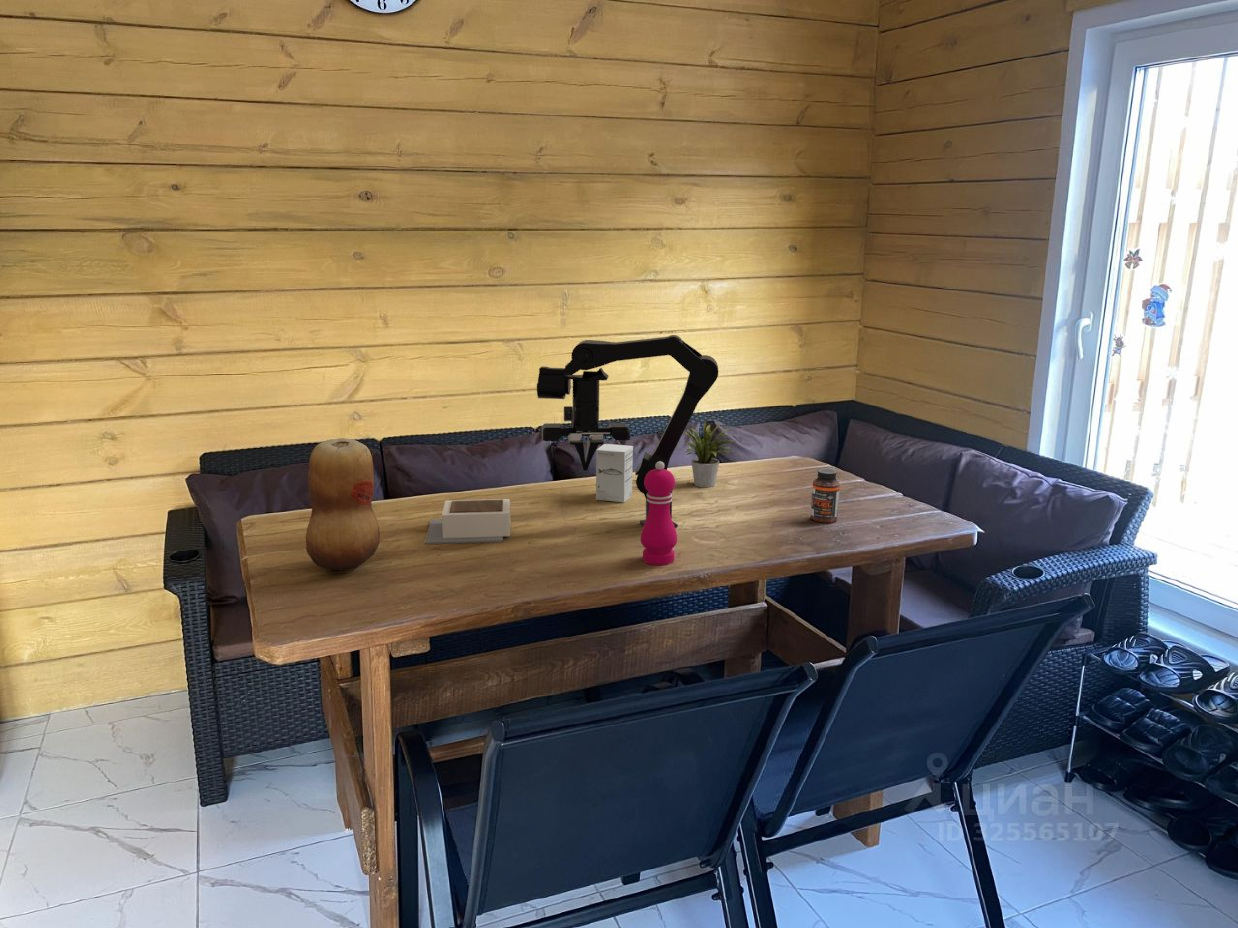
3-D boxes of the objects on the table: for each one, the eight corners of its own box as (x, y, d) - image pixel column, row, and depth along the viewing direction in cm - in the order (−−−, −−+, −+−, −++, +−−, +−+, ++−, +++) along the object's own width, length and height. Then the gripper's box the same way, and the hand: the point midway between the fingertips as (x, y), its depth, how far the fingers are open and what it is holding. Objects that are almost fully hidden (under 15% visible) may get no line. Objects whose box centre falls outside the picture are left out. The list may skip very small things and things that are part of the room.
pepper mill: (632, 559, 189) (633, 461, 184) (657, 551, 194) (659, 455, 189) (659, 568, 184) (660, 468, 179) (684, 560, 189) (686, 461, 184)
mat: (503, 519, 215) (503, 517, 214) (502, 541, 199) (502, 540, 199) (431, 521, 213) (430, 519, 213) (424, 544, 197) (424, 542, 197)
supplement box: (595, 500, 229) (594, 449, 226) (604, 492, 236) (604, 442, 233) (624, 503, 227) (624, 451, 224) (633, 495, 234) (633, 444, 231)
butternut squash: (345, 585, 175) (336, 452, 169) (293, 573, 181) (282, 444, 175) (397, 563, 186) (390, 437, 180) (346, 551, 193) (338, 430, 187)
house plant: (701, 496, 233) (703, 431, 229) (663, 484, 243) (664, 422, 239) (742, 486, 242) (744, 423, 238) (703, 476, 252) (705, 415, 248)
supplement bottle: (809, 522, 213) (812, 473, 210) (811, 514, 219) (813, 466, 216) (837, 524, 212) (840, 474, 209) (837, 516, 217) (840, 468, 214)
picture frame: (509, 497, 211) (445, 499, 209) (509, 511, 200) (441, 513, 199) (510, 520, 212) (446, 522, 211) (510, 536, 202) (442, 538, 200)
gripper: (624, 393, 214) (622, 461, 218) (540, 393, 212) (540, 462, 216) (630, 402, 203) (629, 473, 207) (542, 402, 201) (542, 474, 205)
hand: (585, 470), depth 209 cm, fingers closed
